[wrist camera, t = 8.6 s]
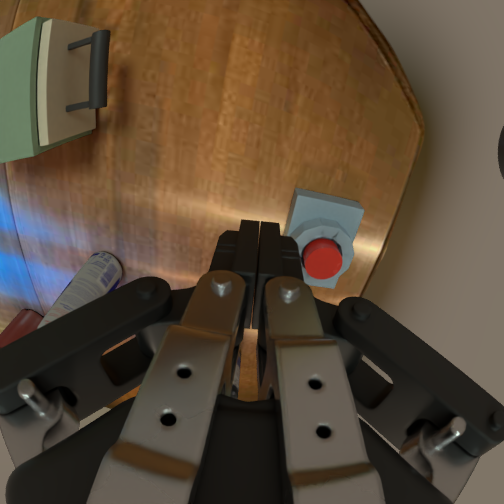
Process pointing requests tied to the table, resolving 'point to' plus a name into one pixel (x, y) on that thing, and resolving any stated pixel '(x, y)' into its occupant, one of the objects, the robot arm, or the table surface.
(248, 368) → the table surface
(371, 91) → the table surface
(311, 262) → the button
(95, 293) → the beverage can
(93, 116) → the drawer
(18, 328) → the flower pot
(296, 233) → the control block
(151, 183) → the table surface
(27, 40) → the cabinet casing
